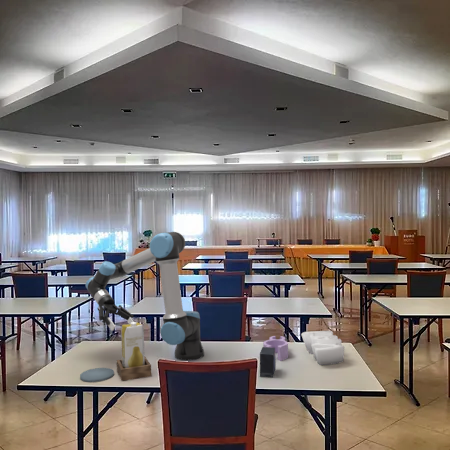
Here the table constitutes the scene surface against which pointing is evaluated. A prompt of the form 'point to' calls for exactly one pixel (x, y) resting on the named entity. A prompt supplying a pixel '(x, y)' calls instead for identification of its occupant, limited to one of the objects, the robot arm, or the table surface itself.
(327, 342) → the white wavy slab sculpture
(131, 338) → the juice carton
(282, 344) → the lilac desk organizer
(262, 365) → the small box
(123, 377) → the walnut collar
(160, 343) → the table surface
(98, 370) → the rubber coaster
